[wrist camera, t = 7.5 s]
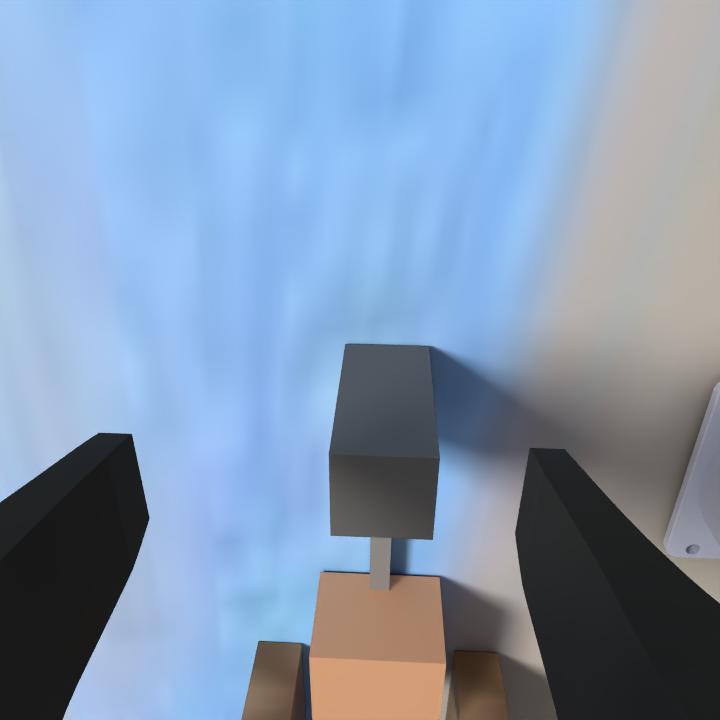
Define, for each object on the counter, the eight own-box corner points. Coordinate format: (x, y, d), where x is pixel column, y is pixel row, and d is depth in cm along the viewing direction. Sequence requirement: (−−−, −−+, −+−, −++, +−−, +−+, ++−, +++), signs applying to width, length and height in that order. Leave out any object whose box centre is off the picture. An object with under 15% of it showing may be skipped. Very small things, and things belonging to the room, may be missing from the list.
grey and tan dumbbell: (461, 347, 21) (483, 459, 16) (431, 654, 29) (440, 797, 24) (312, 342, 21) (285, 452, 16) (323, 649, 29) (306, 789, 24)
